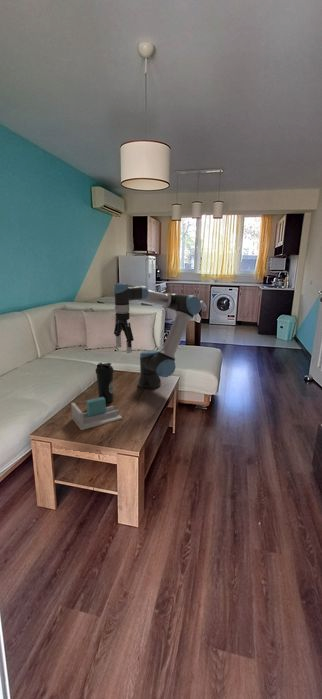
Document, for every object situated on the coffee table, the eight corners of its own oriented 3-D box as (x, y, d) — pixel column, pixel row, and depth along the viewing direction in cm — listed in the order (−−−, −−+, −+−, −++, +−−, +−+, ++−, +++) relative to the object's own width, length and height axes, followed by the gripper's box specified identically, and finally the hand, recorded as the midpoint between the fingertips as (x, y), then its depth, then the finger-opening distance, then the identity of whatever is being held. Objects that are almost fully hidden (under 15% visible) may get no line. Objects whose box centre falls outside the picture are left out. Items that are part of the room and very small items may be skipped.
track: (111, 408, 183) (110, 394, 181) (121, 418, 172) (121, 403, 170) (72, 418, 172) (71, 403, 170) (81, 430, 161) (79, 413, 158)
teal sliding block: (103, 413, 175) (102, 396, 173) (106, 416, 173) (105, 399, 170) (87, 418, 171) (86, 400, 168) (89, 420, 168) (88, 403, 165)
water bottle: (111, 404, 189) (109, 366, 182) (94, 403, 191) (92, 365, 184) (117, 397, 198) (115, 361, 192) (101, 396, 200) (99, 360, 194)
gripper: (107, 309, 186) (108, 345, 192) (126, 316, 166) (127, 356, 172) (119, 308, 190) (120, 344, 196) (139, 314, 170) (140, 354, 175)
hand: (123, 349), depth 184 cm, fingers open, 13 cm apart
